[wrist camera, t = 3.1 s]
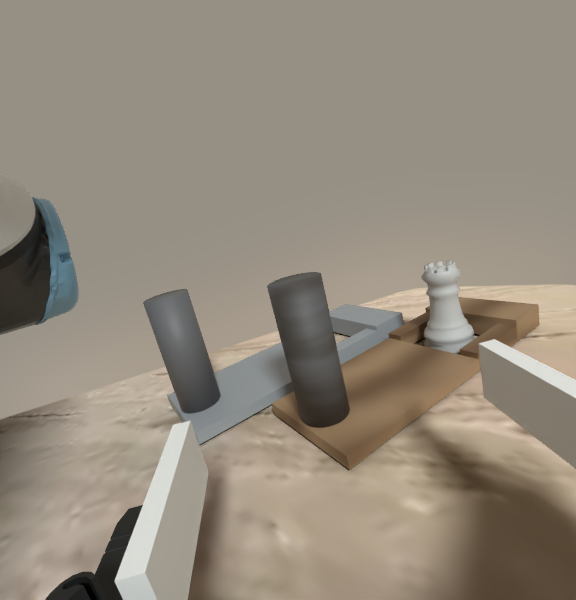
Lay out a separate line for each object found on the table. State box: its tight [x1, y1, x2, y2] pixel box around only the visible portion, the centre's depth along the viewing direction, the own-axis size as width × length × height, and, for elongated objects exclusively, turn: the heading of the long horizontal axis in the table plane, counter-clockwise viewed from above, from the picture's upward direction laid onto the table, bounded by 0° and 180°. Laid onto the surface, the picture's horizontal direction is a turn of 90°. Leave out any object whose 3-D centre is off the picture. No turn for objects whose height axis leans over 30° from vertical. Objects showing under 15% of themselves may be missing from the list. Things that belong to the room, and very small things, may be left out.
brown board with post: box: [267, 272, 539, 470], centre depth 29 cm, size 9×24×11 cm, turn 123°
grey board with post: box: [143, 289, 404, 445], centre depth 35 cm, size 9×24×11 cm, turn 123°
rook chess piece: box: [422, 261, 475, 355], centre depth 32 cm, size 4×4×8 cm
